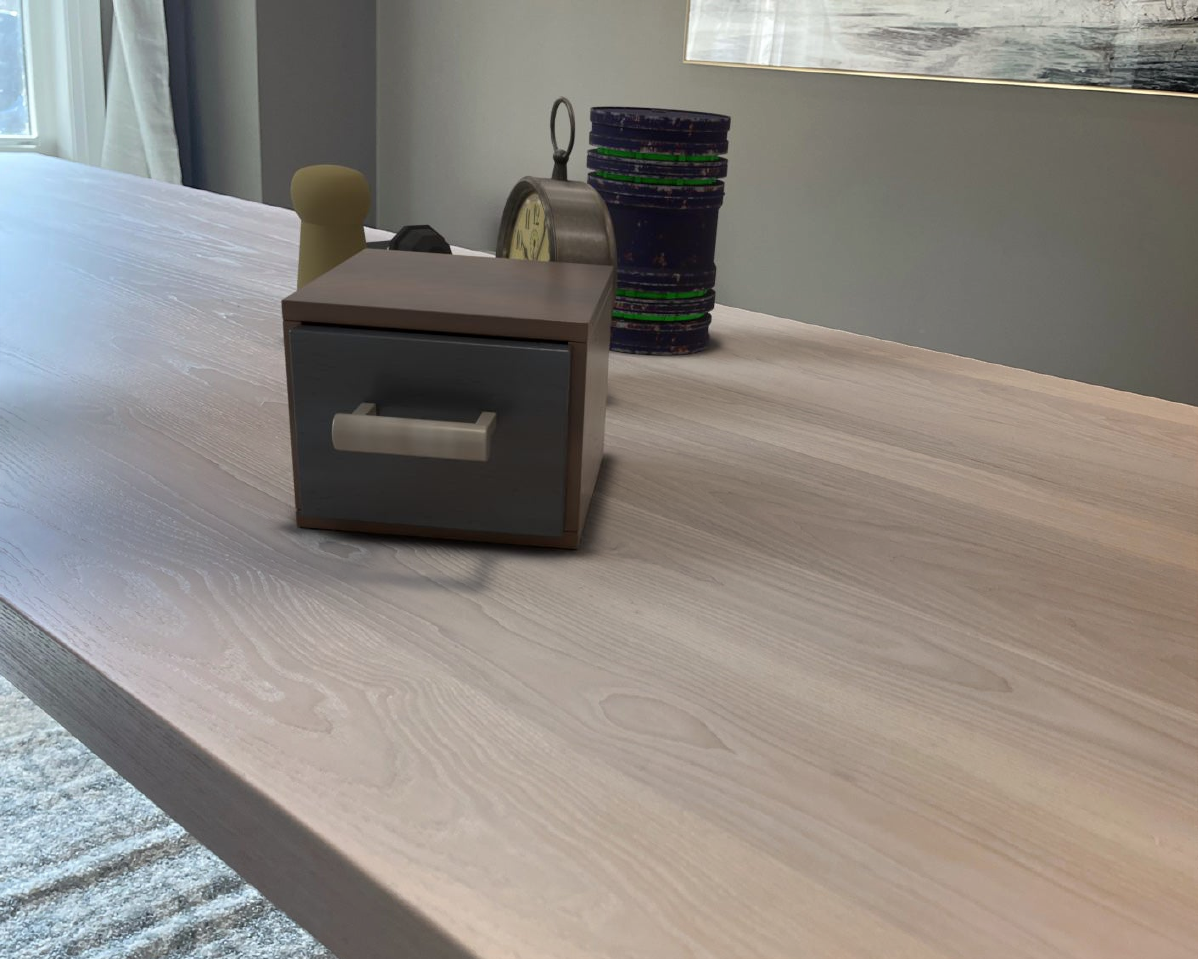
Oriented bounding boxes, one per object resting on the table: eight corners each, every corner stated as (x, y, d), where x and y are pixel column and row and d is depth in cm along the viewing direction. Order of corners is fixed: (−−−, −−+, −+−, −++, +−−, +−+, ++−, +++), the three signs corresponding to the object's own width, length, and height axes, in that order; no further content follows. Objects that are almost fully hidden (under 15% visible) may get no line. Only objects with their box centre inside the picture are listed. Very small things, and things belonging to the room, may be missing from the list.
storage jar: (716, 358, 91) (739, 122, 84) (578, 350, 91) (588, 112, 83) (705, 330, 100) (725, 112, 92) (578, 322, 100) (588, 104, 92)
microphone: (304, 301, 116) (424, 313, 102) (278, 236, 112) (398, 239, 98) (353, 278, 118) (477, 286, 104) (329, 213, 115) (453, 212, 101)
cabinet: (577, 550, 57) (588, 322, 52) (296, 527, 57) (280, 300, 52) (603, 456, 69) (614, 266, 64) (372, 438, 70) (365, 248, 65)
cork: (278, 345, 88) (265, 166, 82) (315, 328, 93) (306, 159, 87) (361, 354, 86) (354, 174, 81) (395, 337, 92) (390, 166, 86)
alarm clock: (488, 367, 86) (491, 88, 77) (565, 365, 87) (576, 92, 79) (541, 409, 77) (550, 101, 69) (624, 406, 79) (644, 105, 70)
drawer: (551, 574, 52) (558, 375, 48) (271, 551, 52) (256, 352, 48) (589, 450, 67) (597, 292, 63) (372, 434, 67) (366, 275, 63)
